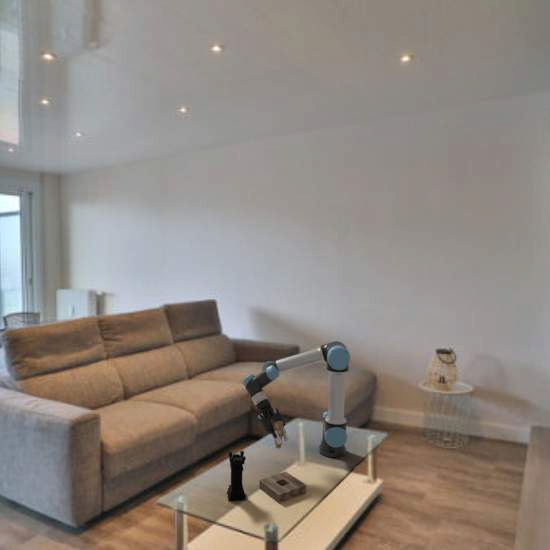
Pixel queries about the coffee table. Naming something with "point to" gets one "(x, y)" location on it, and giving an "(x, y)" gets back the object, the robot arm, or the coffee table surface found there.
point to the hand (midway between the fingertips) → (283, 441)
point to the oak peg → (278, 431)
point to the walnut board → (282, 487)
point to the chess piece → (236, 477)
